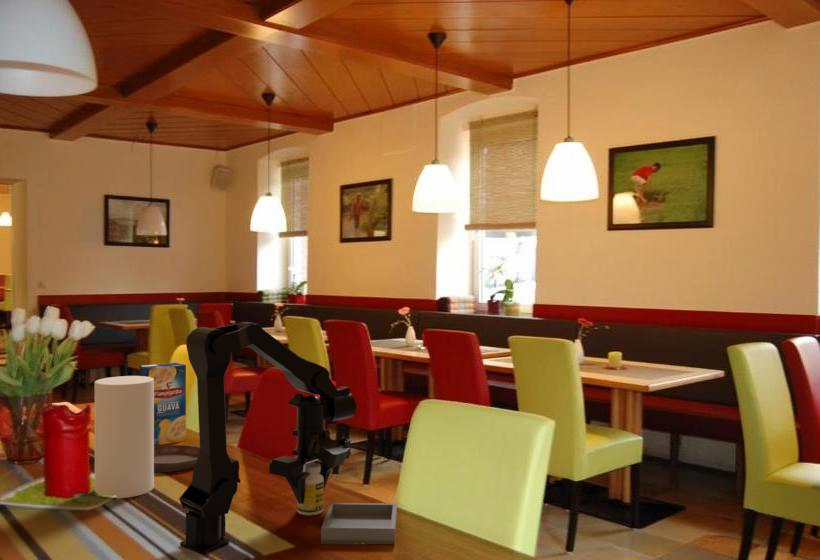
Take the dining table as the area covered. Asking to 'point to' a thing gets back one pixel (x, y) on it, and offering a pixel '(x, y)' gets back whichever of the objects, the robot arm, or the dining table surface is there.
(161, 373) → the beverage box
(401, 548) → the dining table surface
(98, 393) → the cylinder
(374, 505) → the gray rectangular open tray
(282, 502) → the dining table surface
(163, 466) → the plant saucer
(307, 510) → the supplement bottle
